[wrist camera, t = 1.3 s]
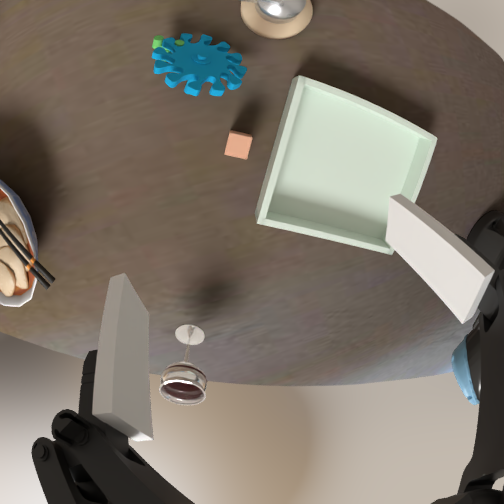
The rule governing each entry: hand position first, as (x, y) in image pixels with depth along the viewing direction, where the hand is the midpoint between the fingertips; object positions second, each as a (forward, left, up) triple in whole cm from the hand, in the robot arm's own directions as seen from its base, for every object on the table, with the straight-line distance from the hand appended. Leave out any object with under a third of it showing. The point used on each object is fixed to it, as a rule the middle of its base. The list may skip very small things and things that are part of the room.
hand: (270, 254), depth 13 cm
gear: (+8, -10, -23) cm, 27 cm away
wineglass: (+3, +29, -23) cm, 37 cm away
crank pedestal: (+2, -20, -23) cm, 30 cm away
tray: (-12, -3, -23) cm, 26 cm away
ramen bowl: (+37, +15, -23) cm, 46 cm away
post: (+2, -2, -23) cm, 23 cm away
